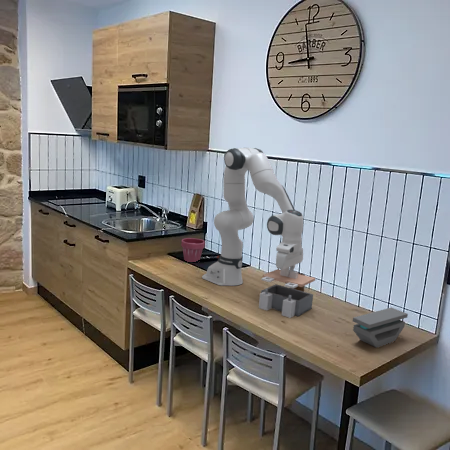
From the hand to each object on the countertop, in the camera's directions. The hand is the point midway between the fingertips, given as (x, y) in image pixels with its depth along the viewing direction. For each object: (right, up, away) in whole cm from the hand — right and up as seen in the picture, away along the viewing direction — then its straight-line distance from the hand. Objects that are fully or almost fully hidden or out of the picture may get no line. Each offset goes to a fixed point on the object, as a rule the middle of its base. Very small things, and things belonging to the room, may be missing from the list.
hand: (288, 274), depth 221 cm
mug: (+5, -12, +24) cm, 28 cm away
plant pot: (-50, +1, +69) cm, 85 cm away
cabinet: (-2, -16, +2) cm, 16 cm away
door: (-1, -2, -1) cm, 3 cm away
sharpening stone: (+32, -24, -28) cm, 49 cm away
